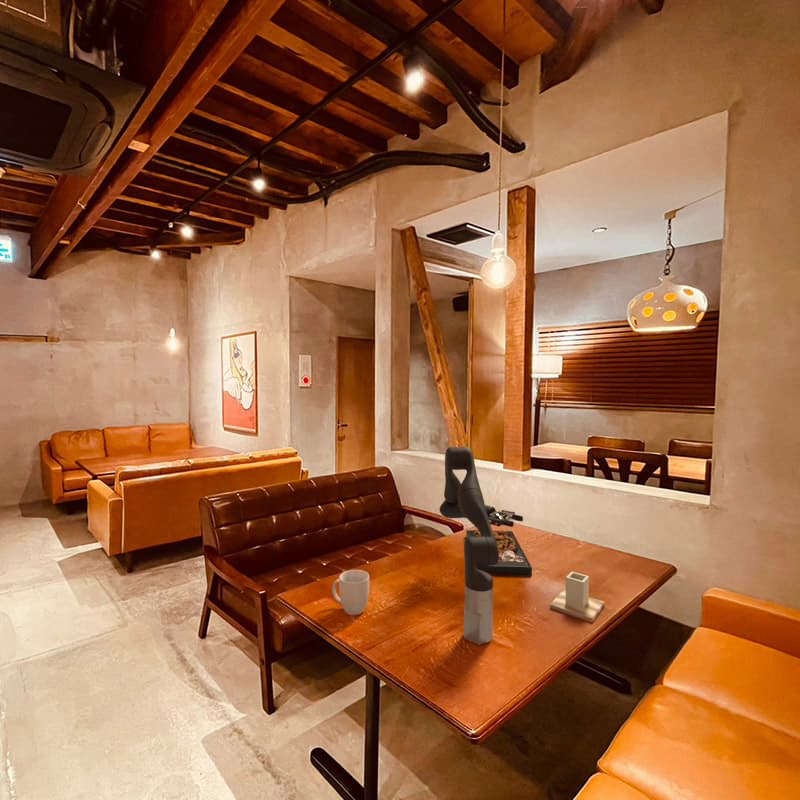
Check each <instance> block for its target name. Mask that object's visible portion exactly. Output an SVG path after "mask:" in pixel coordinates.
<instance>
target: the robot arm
mask: <svg viewBox="0 0 800 800" xmlns="http://www.w3.org/2000/svg"><path fill="white" fill-rule="evenodd" d="M475 463H476V462H475V458H474V453H473V450H472V449H471V447H469V446H450V447H447V448H446V451H445V454H444V475H445V476H444V477H445V479H444V480H445V481H444V482H445V483H444V484H445V485H444V492H443V497H444V501H443V502H442V503H441V505H440V506H439V514H440V515H441V516H442V517H445V518H447V519H462V518H463V519H466V520H468V521H469V522H470V523H471V524H472V525H473V526H474V527H475V528H476V530H478V531H479V532H480V534H481V536H478V537H467V538H466V537H465V539H464V542H463V554H464V555H463V557H464V559H463V560H464V610H463V639H464V640H467V641H468V642H471V643H473V644H476V645H479V646H481V645H483V644H487V643H490V642H491V641H492V640H493V638H494V637H493V636H494V577H493V575H490V574H488V573H486V572H483V571H481V570H478V569H476V566H492V565H496V564H497V563H498V561H499V550H498V546H497V542H496V539H495V536H494V534H493V531H494V530H493V528H492V526H496V527H501V526H502V527H503V526H506V527H510V528H513V527H514V525H515V522H514V521H518V522H523V521H524V517H523V515H520V514H519V515H518V514H516V512H515V511H511V510H507V509H501V511H499V510H498V511H497V510H496V508H495V507H494V506H492V505H487V504H485V500H484V495H483V492H482V489H481V487H480V486H481V485H480V481H479V479H478V474H477V470H476V469H477V468H476V464H475ZM462 470H463V471H464V470H465V471H466V474H465V476H464V478H463V480H462V481H460V478H459V477H458V476H456V474H455V473H454V471H462ZM491 525H492V526H491Z"/></svg>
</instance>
